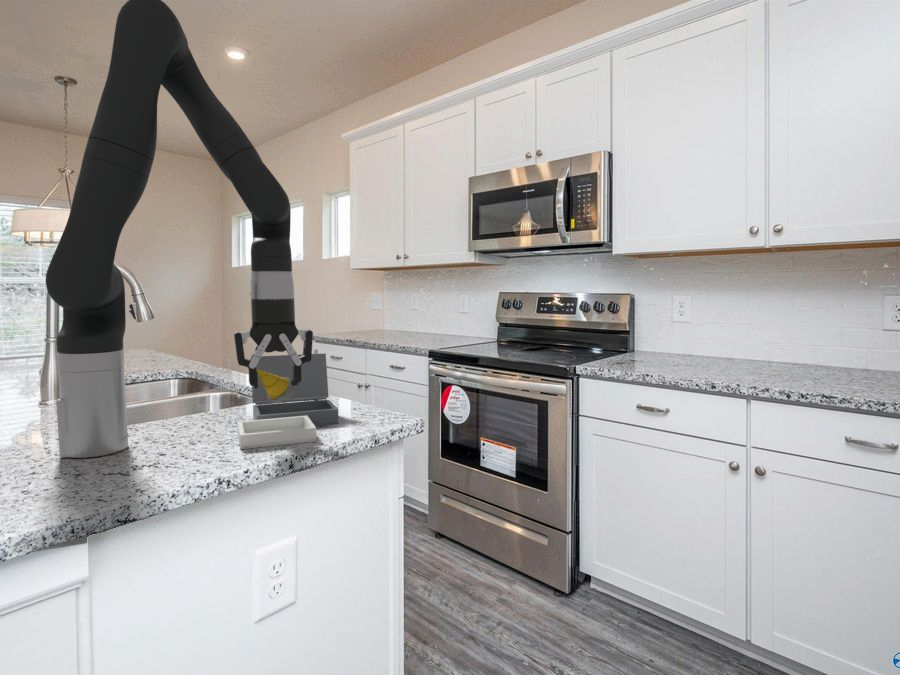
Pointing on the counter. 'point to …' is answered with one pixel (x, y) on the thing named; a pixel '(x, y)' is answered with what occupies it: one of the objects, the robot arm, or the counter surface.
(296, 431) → the tray
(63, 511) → the counter surface
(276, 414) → the case
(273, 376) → the drill bit
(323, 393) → the lid
